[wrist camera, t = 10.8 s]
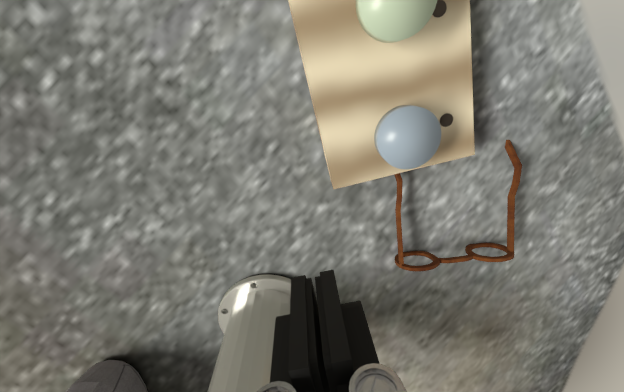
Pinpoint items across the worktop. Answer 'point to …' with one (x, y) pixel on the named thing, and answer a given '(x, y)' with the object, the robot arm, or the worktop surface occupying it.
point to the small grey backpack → (109, 378)
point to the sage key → (393, 18)
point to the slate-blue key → (407, 136)
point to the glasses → (468, 249)
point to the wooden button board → (384, 83)
